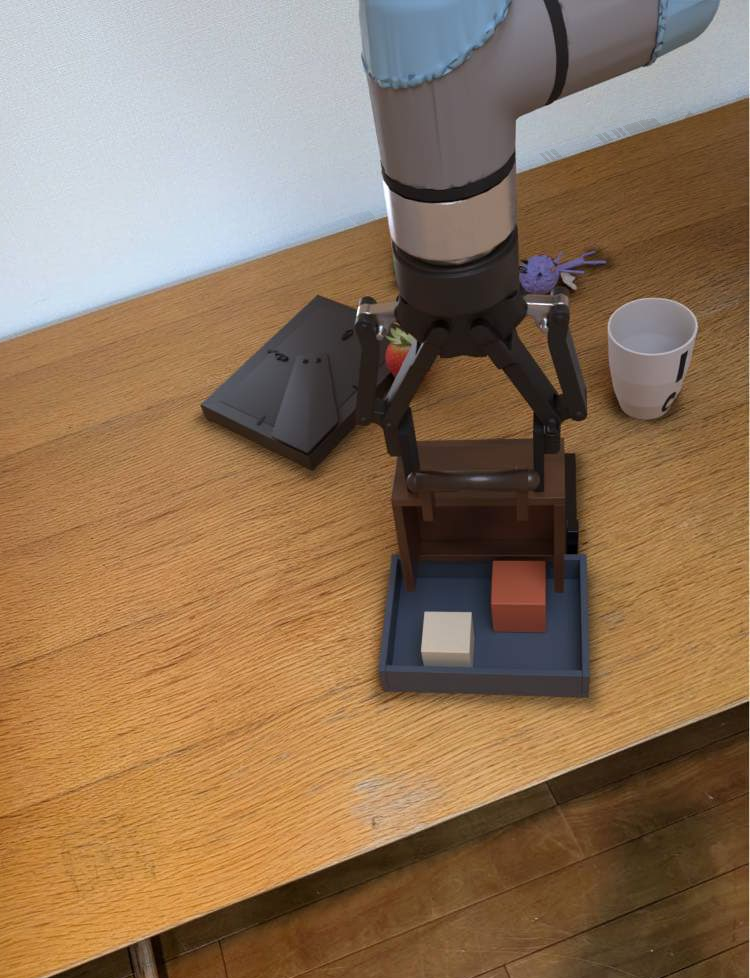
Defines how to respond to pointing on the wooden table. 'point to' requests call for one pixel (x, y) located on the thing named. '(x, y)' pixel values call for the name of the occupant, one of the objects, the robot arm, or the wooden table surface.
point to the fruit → (398, 350)
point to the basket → (480, 505)
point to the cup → (650, 354)
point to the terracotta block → (518, 596)
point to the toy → (549, 272)
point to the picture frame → (300, 385)
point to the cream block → (448, 639)
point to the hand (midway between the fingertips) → (475, 478)
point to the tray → (487, 634)
